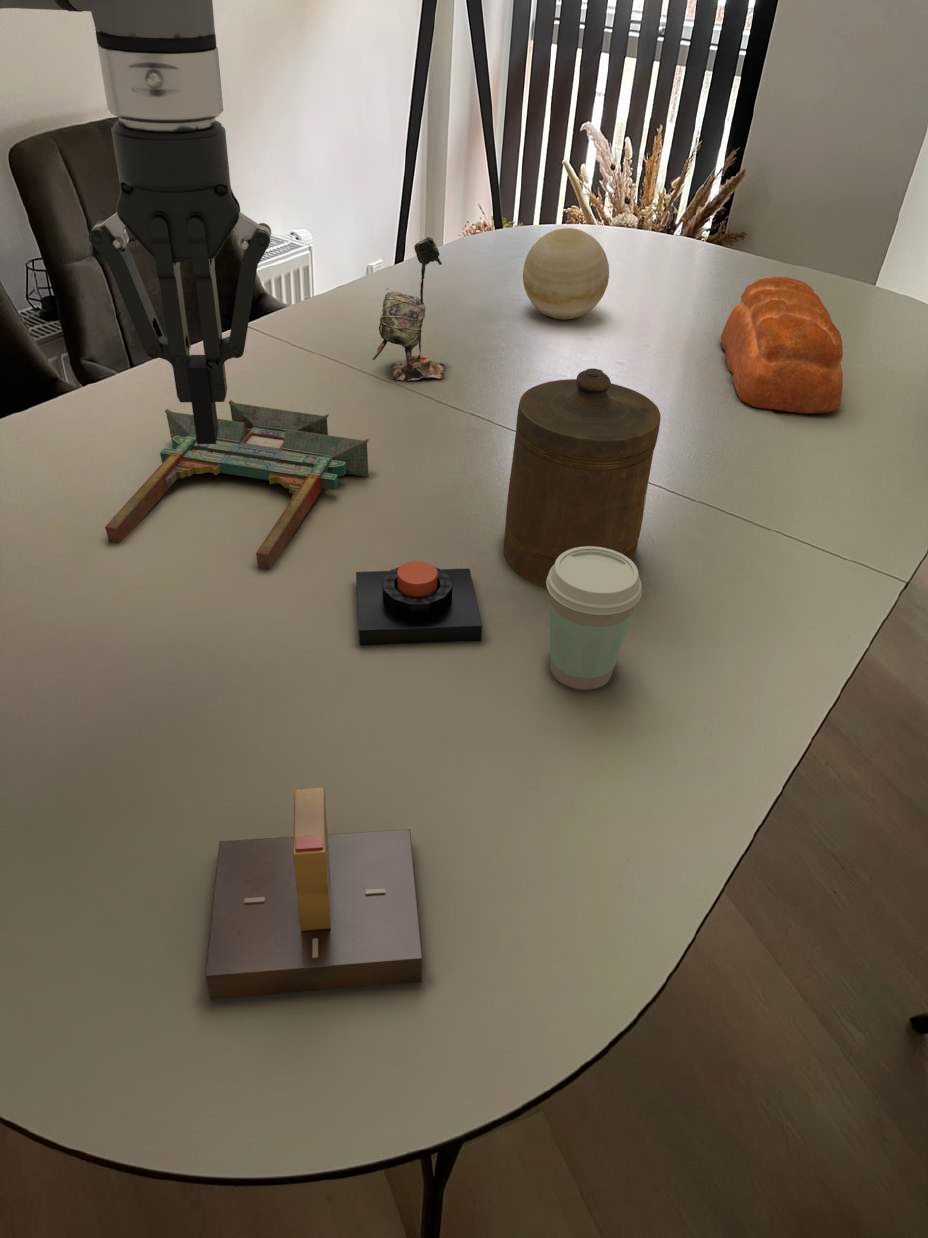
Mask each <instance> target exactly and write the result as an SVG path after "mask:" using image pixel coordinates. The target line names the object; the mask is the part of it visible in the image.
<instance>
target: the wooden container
mask: <svg viewBox="0 0 928 1238" xmlns="http://www.w3.org/2000/svg"><path fill="white" fill-rule="evenodd" d="M515 424H516V425H515V427H516V428H515V437H514V444H513V450H512V451H513V452H512V461H511V466H510V467H511V468H510V474H509V475H510V476H509V483H508V490H507V501H506V511H505V524H504V525H505V526H504V527H505V528H504V536H503V537H504V538H503V550H502V552H503V557H504V560H505V561H506V563H507V565H508V566H509V567H510V568H511V570H512V571H514V572H515V573H516V574H517V575H518V576H520V577H521V578H523V579H524V580H526V581H528V582H530V583H532V584H534V585H537V586H540V587H543V588H546V589H547V585H546V581H547V577H548V574H549V571H550V569H551V568H552V566H553V565H554V564H555V561H556V559H557V558H558V557H559V556H560V555H561V554H562V553H564V552H565V551H567V550H570V549H573V548H577V547H584V546H594V547H602V548H607V549H611V550H614V551H617V552H619V553H621V554H623V555H625V556H626V557H628V558H629V559H630V560H631V561H632V562H633V563H634V564H635V559H636V554H637V550H638V544H639V539H640V534H641V531H642V525H643V520H644V513H645V508H646V501H647V500H646V499H647V495H648V488H649V481H650V475H651V469H652V463H653V458H654V453H655V452H654V451H655V448H656V445H657V441H658V437H659V433H660V432H659V431H660V426H661V412H660V409H659V407H658V406H657V405H656V404H655V402H654V401H653V400H652V399H650V398H649V397H647V396H646V395H644V394H643V393H640V392H638V391H637V390H634V389H631V388H629V387H626V386H622V385H620V384H615V383H612V381H611V379H610V377H609V376H608V374H607V373H605V372H604V371H603V370H602V369H599V368H587V369H585V370H582V371H580V372H579V373H578V374H577V376H576V378H569V379H557V380H550V381H546V382H542V383H540V384H536V385H535V386H532V387H530V388H528V389H527V390H526V391H524V393H522V395H521V396H520V399H519V402H518V408H517V415H516V423H515Z"/></svg>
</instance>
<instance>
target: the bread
mask: <svg viewBox="0 0 928 1238" xmlns="http://www.w3.org/2000/svg"><path fill="white" fill-rule="evenodd" d="M841 335H842V334H841V332H840V330H839V329H838V327H837V326H836V325H835V324H834V323H833V320H832V318H831V315H830V312H829V310H828V309H827V308H826V306H825V305H824V304H823V301H822V300H821V298H820V296H819V295H817V293H816V292H815V290H814V289H813V288H812V286H810V285H809V284H808V283H806V282H805V281H802V280H800V279H795V278H792V277H788V276H787V277H786V276H772V277H766V278H765V277H764V278H760V279H758V280H756V281H754V282H752V283H751V284H748V285H747V286H746V287H745V289H744V290H743V293H742V294H741V295H740V302H739V303H738V304H736V305H735V306H733V308H732V309H731V312H730V314H729V316H728V317H727V320H726V322H725V325H724V327H723V330H722V332H721V334H720V340H721V341H720V343H721V348H722V349H723V352H724V353H725V356H724V358H725V363H726V366H727V369H728V371H730V372H731V373H732V377H731V380H732V383H733V386H734V389H735V391H736V394H737V395H738V398H739V400H740V401H742V402H743V403H744V404H747V405H749V406H750V407H753V408H756V409H763V410H770V411H777V412H778V411H779V412H786V413H787V412H789V413H796V414H825V413H831V412H833V411H835V410H836V409H837V410H838V408H840V407H841V401H842V396H843V395H842V394H843V387H844V386H843V382H844V381H843V380H844V379H843V378H844V377H843V375H844V372H843V368H842V364H841V362H842V360H843V356H844V351H843V339H842V336H841Z"/></svg>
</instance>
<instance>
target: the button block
mask: <svg viewBox="0 0 928 1238" xmlns="http://www.w3.org/2000/svg"><path fill="white" fill-rule="evenodd" d="M399 567H400V566H398V567H395V568H393V569H390V570H377V571H376V570H375V571H374V570H373V571H356V572H355V583H356V585H355V586H356V603H357V604H356V606H357V620H358V622H357V623H358V625H357V626H358V642H359V647H360V646H361V647H362V646H384V645H385V646H386V645H408V644H411V645H412V644H433V643H434V644H435V643H436V644H437V643H454V642H455V643H458V642H461V643H463V642H480V641H482V634H483V633H482V632H483V624H482V618H481V614H480V609H479V605H478V600H477V597H476V591H475V587H474V583H473V582H474V581H473V578H472V577H473V576H472V573H471V569H470V568H440V567H435V566H434V567H435V568H436V570H437V572H438V577H437V589H436V591H435V592H434V593H433V594H430V595H428V596H425V597H411V596H408V595H405V594H402V593H401V592H400V591H399V590H398V587H397V571H398V569H399Z"/></svg>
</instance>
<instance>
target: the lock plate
mask: <svg viewBox="0 0 928 1238" xmlns="http://www.w3.org/2000/svg"><path fill="white" fill-rule="evenodd" d="M293 838H294V836H281V837H267V838H266V837H265V838H253V839H252V838H251V839H233V840H220V841H219V843H218V851H217V858H216V859H217V860H216V870H215V878H214V889H213V897H212V908H211V915H210V916H211V917H210V924H209V925H210V927H209V935H208V936H209V937H208V946H207V954H206V964H205V973H204V977H205V982H206V987H207V992H208V996H209V1000H220V999H221V1000H222V999H232V998H244V997H257V996H269V995H279V994H280V995H281V994H291V993H292V994H293V993H294V994H295V993H303V992H305V993H306V992H318V991H328V990H341V989H352V988H364V987H365V988H366V987H375V986H377V987H378V986H388V985H389V986H390V985H398V984H399V985H400V984H401V985H402V984H411V983H421V982H422V980H423V961H424V959H423V949H422V939H421V928H420V918H419V907H418V906H419V905H418V897H417V887H416V877H415V865H414V855H413V846H412V845H413V844H412V833H411V829H410V828H407V829H392V830H391V829H389V830H375V831H359V832H345V833H344V832H343V833H330V834H329V833H328V849H329V868H330V919H331V927H330V929H319V930H307V931H301V929H300V918H299V908H298V898H297V888H296V878H295V868H294V857H293Z"/></svg>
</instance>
